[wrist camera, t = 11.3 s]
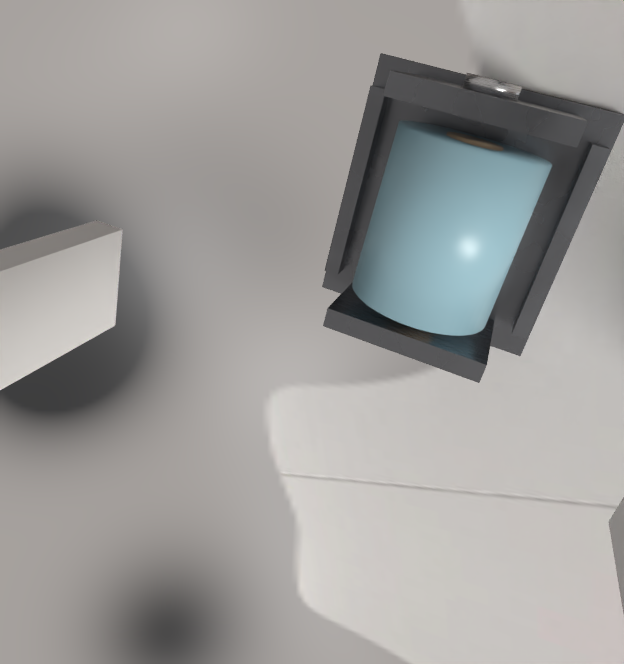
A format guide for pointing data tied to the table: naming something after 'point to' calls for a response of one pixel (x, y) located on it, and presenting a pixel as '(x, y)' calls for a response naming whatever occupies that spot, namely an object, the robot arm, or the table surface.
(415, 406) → the table surface
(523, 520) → the table surface
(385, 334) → the holder
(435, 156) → the roll
